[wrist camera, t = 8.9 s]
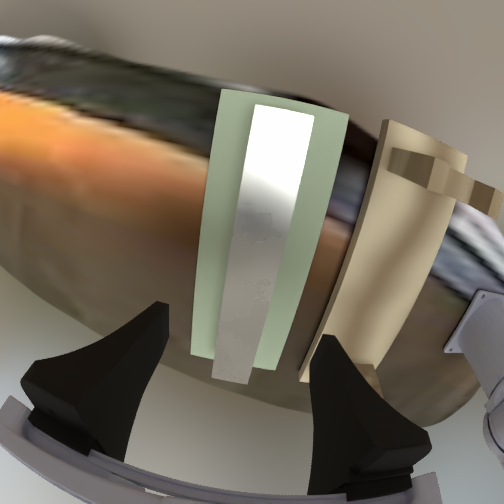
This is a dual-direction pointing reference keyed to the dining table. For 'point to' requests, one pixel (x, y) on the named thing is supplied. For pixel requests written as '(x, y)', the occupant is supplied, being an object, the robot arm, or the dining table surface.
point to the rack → (396, 242)
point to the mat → (224, 211)
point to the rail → (259, 235)
